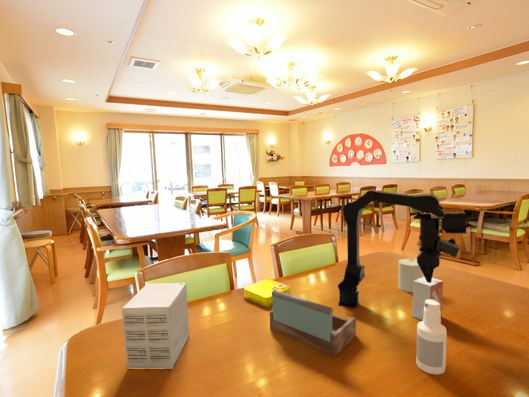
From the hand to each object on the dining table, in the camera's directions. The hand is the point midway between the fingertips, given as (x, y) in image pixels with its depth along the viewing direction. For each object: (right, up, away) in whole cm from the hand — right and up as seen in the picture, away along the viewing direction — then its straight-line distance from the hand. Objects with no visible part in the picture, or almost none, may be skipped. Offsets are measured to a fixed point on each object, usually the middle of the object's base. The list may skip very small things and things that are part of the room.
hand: (430, 277), depth 105 cm
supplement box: (-87, -19, -11) cm, 90 cm away
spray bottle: (-12, -18, -22) cm, 31 cm away
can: (+6, -12, +28) cm, 31 cm away
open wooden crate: (-40, -17, -4) cm, 44 cm away
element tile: (-54, -15, +25) cm, 62 cm away
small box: (+1, -15, +4) cm, 15 cm away
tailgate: (-45, -14, -9) cm, 48 cm away
